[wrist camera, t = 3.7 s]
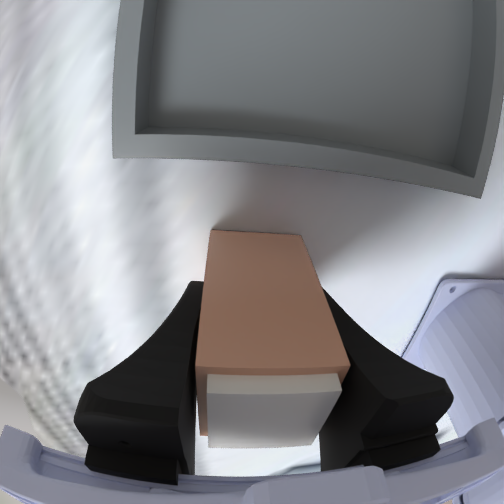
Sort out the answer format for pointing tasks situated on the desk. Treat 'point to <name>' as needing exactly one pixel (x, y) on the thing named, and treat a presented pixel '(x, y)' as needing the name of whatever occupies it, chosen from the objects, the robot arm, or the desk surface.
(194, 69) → the tray
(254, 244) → the tan rectangular block
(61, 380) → the desk surface
